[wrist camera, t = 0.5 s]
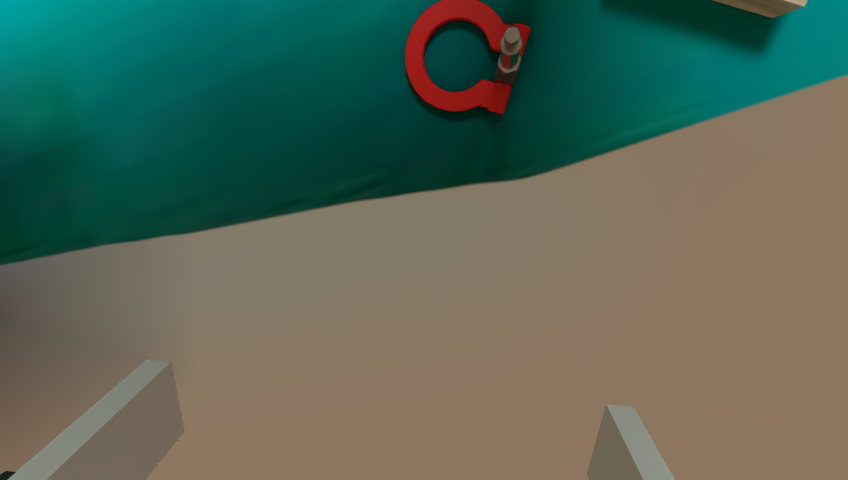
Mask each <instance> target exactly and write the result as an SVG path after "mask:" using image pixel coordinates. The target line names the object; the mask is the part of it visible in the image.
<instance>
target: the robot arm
mask: <svg viewBox="0 0 848 480" xmlns="http://www.w3.org/2000/svg"><path fill="white" fill-rule="evenodd" d="M183 432H184V426H183V421H182V415H181V410H180V405H179V400H178V395H177V389H176V384H175V379H174V374H173V368H172V363H171V362H170V361H159V360H150V359H147V360H146V361H145V362H143V363H142V364H141V365H140V366H139V367H138V368H137V369H135V370H134V371H133V372H132V373H131V374H129V375H128V376H127V377H126V378H125V379H124V380H123V381H121V382H120V383H119V384H118V385H117V386H116V387H114V388H113V389H112V390H111V391H110V392H109V393H108V394H106V395H105V396H104V397H103V398H102V399H100V400H99V401H98V402H97V403H96V404H95V405H93V406H92V407H91V408H90V409H89V410H88V411H87V412H85V413H84V414H83V415H82V416H81V417H80V418H78V419H77V420H76V421H75V422H74V423H73V424H72V425H70V426H69V427H68V428H67V429H66V430H64V431H63V432H62V433H61V434H60V435H59V436H58V437H57V438H55V439H54V440H53V441H52V442H51V443H49V444H48V445H47V446H46V447H45V448H44V449H43V450H41V451H40V452H39V453H38V454H37V455H35V456H34V457H33V458H32V459H31V460H30V461H28V462H27V463H26V464H25V465H24V466H23V467H22V468H21V469H19V470H18V471H17V472H9V471H5V472H4V473H2V474H1V475H0V480H145V479H146V478H147V477H148V476H149V474H150V473H151V472H152V471H153V470H154V468H155V467H156V466H157V465H158V463H159V462H160V461H161V460H162V458H163V457H164V456H165V455H166V453H167V452H168V451H169V450H170V448H171V447H172V446H173V444H174V443H175V442H176V441H177V440H178V438H179V437H180V436H181V435H182V433H183ZM587 474H588V477H589V480H675V479H674V478H673V476H672V474H671V472H670V471H669V469H668V467H667V465H666V464H665V462H664V460H663V458H662V456H661V455H660V453H659V451H658V450H657V448H656V446H655V444H654V443H653V441H652V439H651V437H650V436H649V434H648V432H647V430H646V429H645V427H644V425H643V423H642V422H641V420H640V418H639V416H638V415H637V413H636V411H635V409H634V408H633V407H631V406H621V405H611V404H606V407H605V410H604V414H603V418H602V421H601V425H600V429H599V433H598V436H597V440H596V444H595V447H594V451H593V455H592V458H591V462H590V465H589V469H588V473H587Z"/></svg>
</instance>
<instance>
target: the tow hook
mask: <svg viewBox="0 0 848 480" xmlns="http://www.w3.org/2000/svg"><path fill="white" fill-rule="evenodd" d="M458 20H463V21H467V22H471V23H473V24H474V25H476V26H478V27H479V28H480V29H481V30H482V31H483V32H484V33H485V35H486V37H487V39H488V41H489V44H490V48H491V49H492V50H493V51H496V52H500V57H499V60H498V63H497V70H496V73H495V77H494V79H495V82H492V81H488V80H485V79H483V80H480V81H479V82H478V84H476V85H475V86H473V87H472V88H470V89H468V90H465V91H462V92H449V91H445V90H443V89H441V88H439V87H437V86H436V85H435V84H434V83H433V82H432V81H431V79H430V77H429V76H428V74H427V71H426V68H425V63H424V54H425V49H426V45H427V43H428V41H429V39H430V37H431V36H432V34H433V33H434V32H435V31H436V30H437V29H438V28H439V27H441V26H442V25H443V24H446V23H448V22H451V21H458ZM530 30H531V28H530V27H529V26H527V25H524V24H520V23H514V24H513V26H512V25H508V24H505V23H503V22H502V20H501V18H500V17H499V16H498V15H497V14H496V13H495V12H494V11H493V10H492V9H491V7H490V6H488V5H486V4H484V3H482V2H481V1H479V0H442V1H440V2H437V3H435V4H434V5H432V6H431V7H430V8H428V9H427V10H426V11H425V12H423V13H422V15H421V16H420V17H419V18H418V20H417V21H416V22H415V24H414V25H413V28H412V30H411V32H410V34H409V36H408V39H407V45H406V50H405V65H406V70H407V74H408V77H409V80H410V82H411V84H412V86H413V87H414V89H415V91H416V92H417V93H418V94H419V95H420V96H421V97H422V98H423V99H424V100H425V101H426V102H427V103H429V104H431V105H433V106H434V107H436V108H438V109H442V110H446V111H450V112H456V111H466V110H469V109H472V108H475V107H478V106H481V107H484V108H488V109H487V110H488V111H491V112H494V113H498V114H504V111H505V108H506V105H507V102H508V98H509V95H510V92H511V89H512V87H513V86H514V84H515V80H516V77H517V74H518V71H519V68H520V65H521V62H522V58H523V52H524V48H525V45H526V42H527V39H528V36H529V33H530Z"/></svg>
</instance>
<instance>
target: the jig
mask: <svg viewBox="0 0 848 480" xmlns="http://www.w3.org/2000/svg"><path fill="white" fill-rule="evenodd" d="M713 1H716V2H719V3H723V4H726V5H730V6H733V7H736V8H740V9H743V10H746V11H750V12H753V13H757V14H760V15H763V16H767V17H770V18H774V17H777V16H780V15H783V14H785V13H788V12H791V11H793V10H796V9H799V8H801V7H804V6H805V4H806V2H807V0H713Z"/></svg>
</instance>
